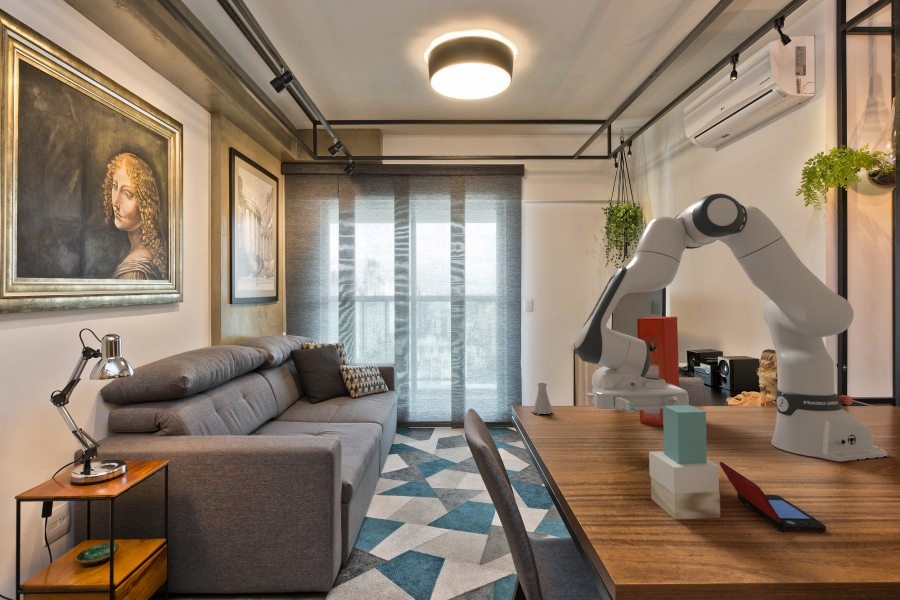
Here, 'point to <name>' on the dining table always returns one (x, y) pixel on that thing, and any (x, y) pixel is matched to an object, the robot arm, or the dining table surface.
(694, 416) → the teal pillar
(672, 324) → the file binder
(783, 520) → the handheld game console
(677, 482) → the tower top
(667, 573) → the dining table surface
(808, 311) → the robot arm
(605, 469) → the dining table surface
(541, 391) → the flask
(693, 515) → the tower base
